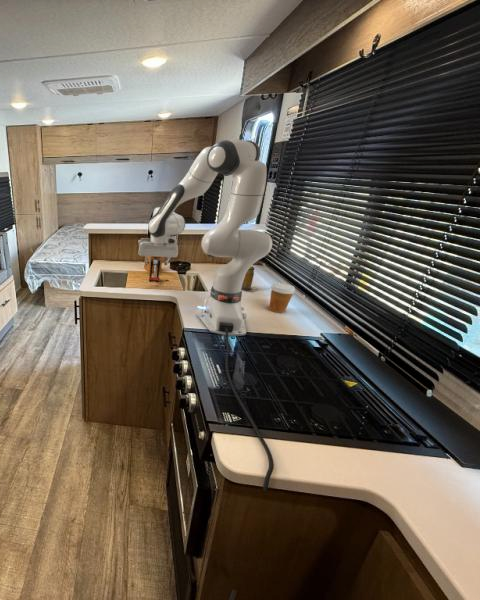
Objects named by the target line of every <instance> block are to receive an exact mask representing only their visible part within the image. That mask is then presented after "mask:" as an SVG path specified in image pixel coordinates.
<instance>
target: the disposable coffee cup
mask: <svg viewBox="0 0 480 600" xmlns="http://www.w3.org/2000/svg"><path fill="white" fill-rule="evenodd" d="M295 293H296V287H295V286H293V285H292V284H288V283H285V282H274V283H272V284H271V286H270V299H269V307H268V309H269V311H271V312H273V313H278V314H279V313H281V314H283V313H285V312H286V309H287V307H288V305H289V303H290V301H291V299H292V297H293V295H294V294H295Z"/></svg>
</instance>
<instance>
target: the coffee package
mask: <svg viewBox="0 0 480 600" xmlns="http://www.w3.org/2000/svg"><path fill="white" fill-rule="evenodd" d="M151 259H153V261H154V260H158V259H160V262H161V264H160V270H159V274H161V273H162V266H163V257H155V256H148V257H147V260H149V264H146V260H145V259H144V270H145V271H146V272H147V273H149V274H150V265H151V264H150V261H151ZM157 266H158V264H157ZM157 266H156V274H157ZM152 274H154V266H153V267H152Z"/></svg>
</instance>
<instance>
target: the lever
mask: <svg viewBox="0 0 480 600" xmlns="http://www.w3.org/2000/svg"><path fill="white" fill-rule="evenodd" d="M157 264H158V260H154V261H153V266H154V273H153V276H152V277H150V280H151V281H156V280H158V281H160V280H161V279H160V278H161V277H159V278H156V276H157V273H156V266H157Z"/></svg>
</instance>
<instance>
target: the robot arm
mask: <svg viewBox="0 0 480 600" xmlns="http://www.w3.org/2000/svg"><path fill="white" fill-rule="evenodd" d="M260 157H261V148H260V146H259V144H258V143H256V142H254V141H252V140H248V139H245V140H244V139H229V140H228V139H224V140H221V141H217V142H216V143H214V144H213V145H212V146H207V147H204V148H203V149H202V150H200V153H199V154H198V155H197V156H196V158H195V159H194V161H193V162H192V163H191V166H190V168H189V169H188V171H187V173H186V174H185V176H184V177H183V179H182V180H181V181H180V182H179V183H178V184H177V185H175V186H174V187H173V188H172V189H171V191H170V192H169V194H168V195H167V196H166V198H165V199H164V201H163V203H162V204H161V205H160V206H156V207H155V208H154V209H153V212H152V217H151V218H150V219H149V221H148V223H147V230H148V232H149V234H150V237H142V238H140V239H139V240H138V241H137V244H138V253H137V254H138V255H139V256H140V257H144V261H145V260H146V264H149V260H147V257H148V256H155V257H162V258H167V259H166V260H165V261H164V262H163V264H164V266H168V263H169V261H170V260H171V258H177V257H178V256H179V246H178V244H177V243H178V239H177V238H176V237H175V236H177V235H181V234H182V233H183V232H184V230H185V228H186V220H185V217H183V215H182V214H178V213H176V212H175V210H176V209H177V208H178V207H179V206H180V205H182V204H183V203H185V202H187V201H190V200H192V199H195V198H198V197H200V196H203V195H204V194H205V193H207V191H208V190H209V189H210V187H211V186H212V184H213V183H214V181H215V179H216V178H217V176H218V175H219V174H221V175H223V177H224V176H225V177H228V176H231V179H232V184H231V190H230V194H229V199H228V204H227V206H226V210H225V213H224V215H223V217H222V219H221V220H220V221H219V222H218V224H217V225H215V226H214V227H212V229H209V230H208V231H207V232H205V234H204V235H203V236H202V238H201V242H200V244H201V245H200V246H201V249H202V251H203V253H204V254H205V255H207V256H212V257H215V258H231V260H230V261H229V262H227V263H225V264H222V265H221V266H219V267H218V268H217V269H216V271H215V272H214V277H213V282H212V286H211V287H210V291H209V292H210V293H209V294H210V295H209V297H207V298H206V299H205V300H204V305H203V306H200V305H197V309H201V310H202V312H200V313H199V314H198V316H197V317H198V318H199V320H200V321H201V322H202V323H203V325H204V326H205V327H206V328H207V330H208V331H209V332H211V333H213V334H218V335H223V336H225V346H226V354H225V359H224V360H225V361H224V364H225V365H224V367H225V373H226V376H227V377H226V378H227V380H228V383H229V386H230V388H231V390H232V392H233V394H234V396H235V398H236V400H237V402H238V403H239V405H240V407H241V409H242V410H243V413H244V414H245V416H246V417H247V419H248V421H249V422H250V424H251V426H252V428H253V429H254V431H255V433H256V435H257V437H258V439H259V441H260V443H261V444H262V446H263V447H264V450H265V452H266V456H267V458H268V468H267V471H266V474H265V477H264V481H263V484H262V485H263V486H262V490H263V491H264V492H268V490H269V485H270V480H271V477H272V474H273V472H274V466H275V464H274V459H273V455H272V452H271V450H270V448H269V446H268V444H267V443H266V441H265V438H264V437H263V436H262V433H261V431H260V430H259V428H258V426H257V424H256V423H255V421H254V420H253V418H252V416H251V415H250V413H249V411H248V409H247V408H246V406H245V404H244V402H243V401H242V399H241V397H240V395H239V394H238V391H237V389H236V387H235V385H234V383H233V381H232V377H231V374H230V368H229V357H230V345H229V336H231V337H240V336H241V337H242V336H246V335H247V328H246V324H245V323H246V322H245V320H246V319H247V313H245V312H244V313H243V311H244V310H245V307H243V306H242V303H243V301H242V295H243V294H242V293H243V291H242V289H241V288H242V284H243V281H244V278H245V275H246V273H247V271H248V270H249V268H250V267H253V265H254V264H255V263H256V262H258V261H259V260H261V259H263V258H264V257H266V256H268V254H270V252H271V250H272V248H273V239H272V237H271V235H270V234H269V233H267V232H265V231H259V230H250V229H248V230H247V229H240V228H241V227H242V226H243V225H244V224H246V223H248V222H251V221H253V220H255V219H256V218H257V217H258V215H259V214H260V211H261V207H262V202H263V200H264V195H265V190H266V184H267V175H268V168H267V165H266V164H265V163H264V162H262V161H259V160H260ZM237 592H238V590H236V589H232V590H231V593H230V596H229V599H228V600H235V598H236V594H237Z"/></svg>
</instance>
